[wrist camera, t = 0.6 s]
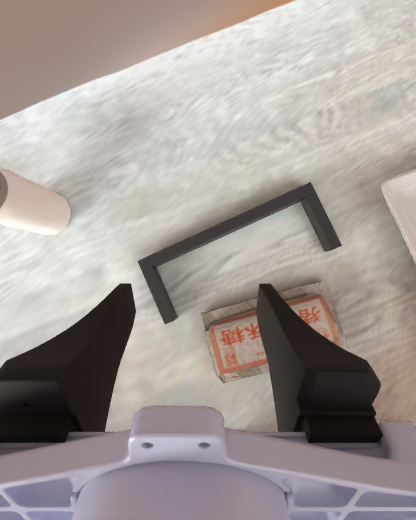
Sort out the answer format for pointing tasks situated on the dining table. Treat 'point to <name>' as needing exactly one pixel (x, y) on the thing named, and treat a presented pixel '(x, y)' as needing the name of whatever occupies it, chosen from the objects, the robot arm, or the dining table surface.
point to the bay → (300, 194)
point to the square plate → (403, 205)
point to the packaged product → (248, 336)
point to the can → (31, 205)
